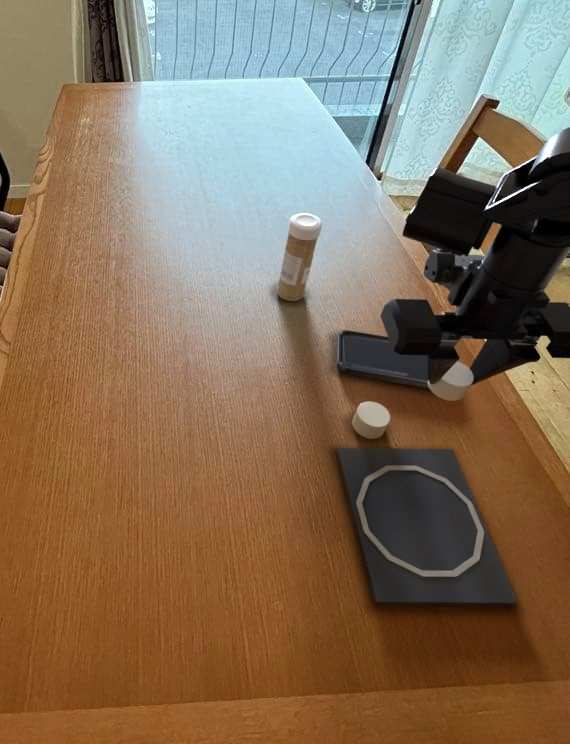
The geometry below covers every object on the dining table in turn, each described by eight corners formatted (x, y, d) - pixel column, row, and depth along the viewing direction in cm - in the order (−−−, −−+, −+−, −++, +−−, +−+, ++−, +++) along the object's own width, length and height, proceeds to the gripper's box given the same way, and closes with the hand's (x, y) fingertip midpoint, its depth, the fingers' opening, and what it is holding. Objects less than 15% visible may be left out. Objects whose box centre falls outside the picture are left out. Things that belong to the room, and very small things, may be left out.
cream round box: (379, 413, 72) (385, 401, 70) (388, 439, 69) (394, 427, 67) (348, 413, 72) (353, 401, 70) (356, 438, 69) (361, 426, 67)
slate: (449, 453, 68) (453, 448, 67) (513, 606, 55) (519, 602, 54) (335, 452, 68) (337, 447, 67) (373, 605, 55) (377, 601, 54)
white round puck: (457, 374, 64) (466, 359, 62) (470, 401, 61) (479, 386, 60) (422, 373, 64) (430, 358, 62) (434, 400, 61) (442, 386, 60)
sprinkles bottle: (309, 298, 88) (328, 226, 78) (284, 304, 86) (300, 232, 77) (295, 281, 91) (312, 209, 81) (270, 287, 89) (284, 214, 80)
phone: (339, 328, 81) (446, 346, 79) (337, 334, 82) (443, 352, 80) (338, 367, 76) (453, 387, 73) (336, 372, 76) (450, 393, 74)
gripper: (572, 223, 56) (503, 333, 68) (390, 219, 56) (350, 329, 68) (636, 294, 49) (545, 404, 60) (424, 290, 49) (373, 401, 60)
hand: (449, 381), depth 62 cm, fingers closed on white round puck, 4 cm apart
